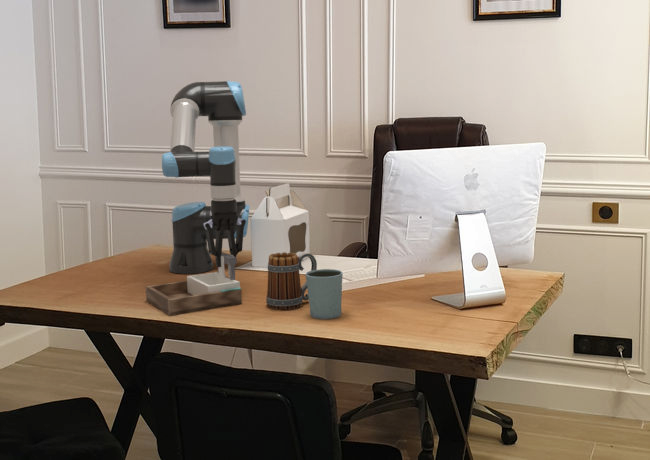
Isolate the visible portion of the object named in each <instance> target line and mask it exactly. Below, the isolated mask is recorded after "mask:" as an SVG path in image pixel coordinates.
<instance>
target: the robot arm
mask: <svg viewBox="0 0 650 460" xmlns="http://www.w3.org/2000/svg"><path fill="white" fill-rule="evenodd" d="M246 115H247V110H246V105H245V99H244V91H243V86H242V84H241V82H239V81H232V80H231V81H229V80H226V81H225V80H224V81H195V82H191V83H189V84H187V85H185V86H183V87H182V88H180V90H179V91H178V92H177V93H176V94H175V95H174V97H173V99H172V100H171V103H170V116H171V117H172V123H171V135H170V148H169V151H168V152H164V153H163V154H162V156H161V170H162V171H161V172H162V174H163V177H165V178H166V177H167V178H189V177H190V178H191V177H192V178H193V177H209V178H210V179H209V180H210V183H209V184H210V186H209V187H210V198H211V199H212V200H211V201H210V205H207V204H206V202H204V201H195V202H188V203H187V202H186V203H184V204H179V205H177V206H175V207H173V208H172V212H171V213H172V214H171V223H172V242H173V243H172V244H173V245H172V247H173V250H172V253H171V256H170V260H169V267H168V268H169V272H170V273H173V274H180V275H181V274H184V275H190V274H193V275H194V274H203V273H205V272H206V273H208V272H210V271H212V270H213V269H214V262H213V259H212V256H214V257H215V267H217V268H218V267H219V277H221V278H225V276H226V274H225V273H226V272H225V263H224V256H221V255H222V252H223V241H224V240H226V239H227V242H228V248H229V253H228V254H229V255H231V256H234V257H236V258H237V255H239V253H241V252H242V251H243V245H244V244H243V243H244V238H245V237H246V236H247V234H248V227H249V216H250V204H247V203H246V199H245V198H244V197H243V196H242V195H241V194H242V193H241V177H240V176H241V175H240V174H241V172H240V171H241V170H240V168H241V167H240V146H239V144H240V141H239V125H240V124H241V123H242V122H243V117H244V116H246ZM199 117H207V118H208V123H209V124H210V125H211V126H212V130H213V131H212V132H213V133H212V135H213V138H212V139H213V146H212V147H210V148H209V150H208V151H196V150H195V148H196V147H195V146H196V145H195V144H196V127H197V125H196V123H197V119H198V118H199ZM211 255H212V256H211ZM236 265H237V264H235V266H236ZM227 271H228V272H227V273H228V274H227V275H228V277H230V268H229V265H228V264H227Z"/></svg>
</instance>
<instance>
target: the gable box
mask: <svg viewBox="0 0 650 460" xmlns="http://www.w3.org/2000/svg"><path fill="white" fill-rule="evenodd" d="M264 192H265V193H266V195H267V196H265V197H264V198H263V199H262V201H261V202H260V204H259V205H258V207H257V208H256V209H255V211H254V213H253V215H252V216H251V218H250V244H251V266H252V268H261V267H262V268H265V269H268V263H269V255H271V254H276V253H281V254H282V253H284V252H286V253H287V254H288V253H295V254H296V255H297V256H299V255H300V254H302V253H309V254H311V253H310V252H311V251H310V217H309V216H310V214H309V213H310V212H309V210H308V209H307V207H306V205H304V203H303V201H302V200H301V199H300V198H299V196H298V195H297V194H296V192H295V191H294V190H291V186H290V183H289V182H285V183H282V184H279V185H275V186H272V187H269V189H268V190H265V191H264ZM280 198H281V200H280V202H279V205H278V204H277V201H276V200H277V199H280ZM307 259H310V258H309V257H305V258H303V260H302V262H303V261H305V260H307ZM262 268H261V269H262Z"/></svg>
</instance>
